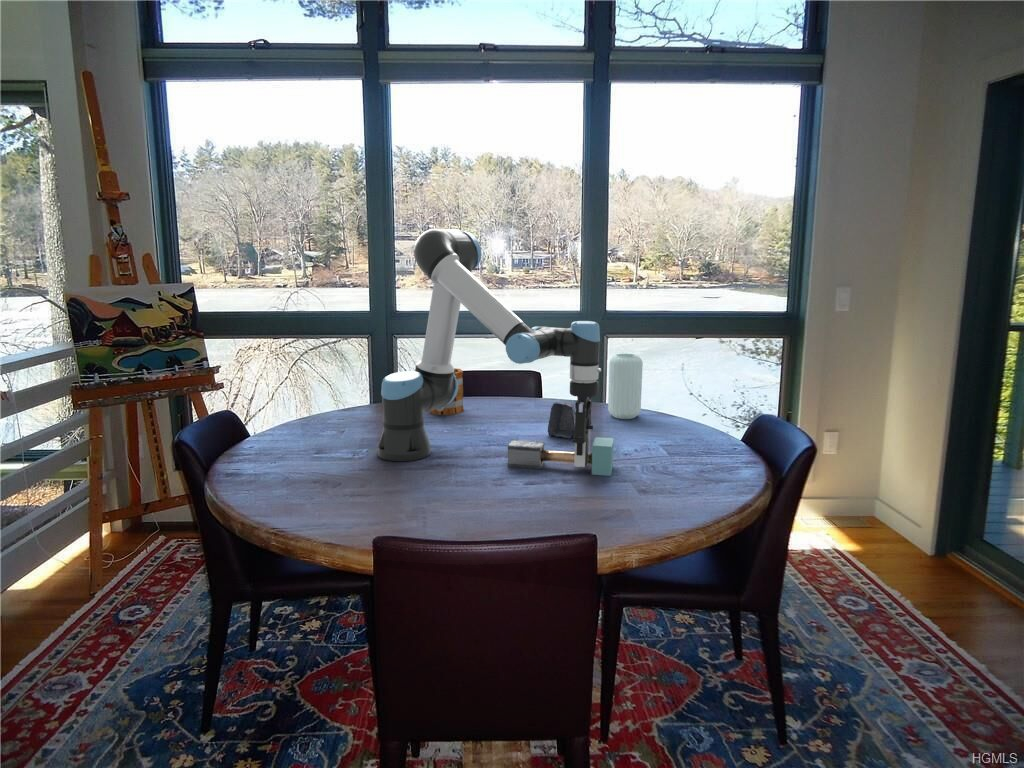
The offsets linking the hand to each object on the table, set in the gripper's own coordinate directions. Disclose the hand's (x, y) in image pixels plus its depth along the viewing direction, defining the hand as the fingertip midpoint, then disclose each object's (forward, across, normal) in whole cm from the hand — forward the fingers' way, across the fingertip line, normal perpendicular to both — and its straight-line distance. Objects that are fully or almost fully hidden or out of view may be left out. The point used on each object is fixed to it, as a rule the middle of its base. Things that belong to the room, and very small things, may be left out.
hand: (582, 459), depth 176 cm
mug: (+3, +52, +57) cm, 77 cm away
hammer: (+1, 0, +3) cm, 4 cm away
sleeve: (+3, 0, +16) cm, 16 cm away
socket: (+3, 0, -6) cm, 6 cm away
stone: (+3, +33, +9) cm, 34 cm away
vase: (+3, +61, -8) cm, 62 cm away
